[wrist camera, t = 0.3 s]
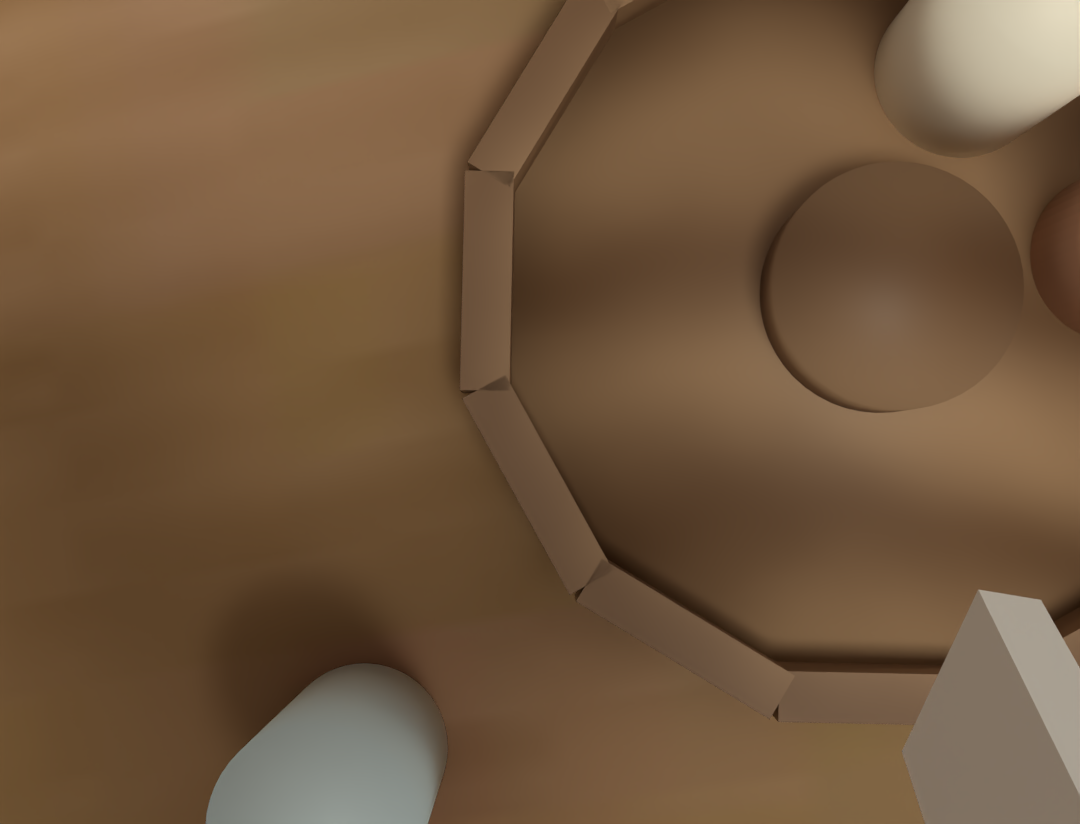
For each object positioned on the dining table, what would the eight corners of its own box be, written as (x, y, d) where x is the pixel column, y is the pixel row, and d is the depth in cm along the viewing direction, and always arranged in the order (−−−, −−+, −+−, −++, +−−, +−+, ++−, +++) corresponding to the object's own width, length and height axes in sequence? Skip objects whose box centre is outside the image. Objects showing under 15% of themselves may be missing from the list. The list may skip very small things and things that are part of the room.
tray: (1262, 709, 27) (1346, 738, 24) (460, 692, 27) (450, 719, 24) (1251, -75, 28) (1330, -135, 25) (478, -88, 28) (471, -149, 25)
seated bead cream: (1045, 159, 26) (1193, 70, 20) (873, 156, 26) (970, 66, 20) (1044, -9, 27) (1190, -145, 21) (874, -12, 27) (971, -149, 21)
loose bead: (445, 834, 27) (417, 942, 21) (277, 831, 27) (201, 937, 21) (449, 664, 27) (423, 723, 21) (282, 661, 27) (208, 718, 21)
